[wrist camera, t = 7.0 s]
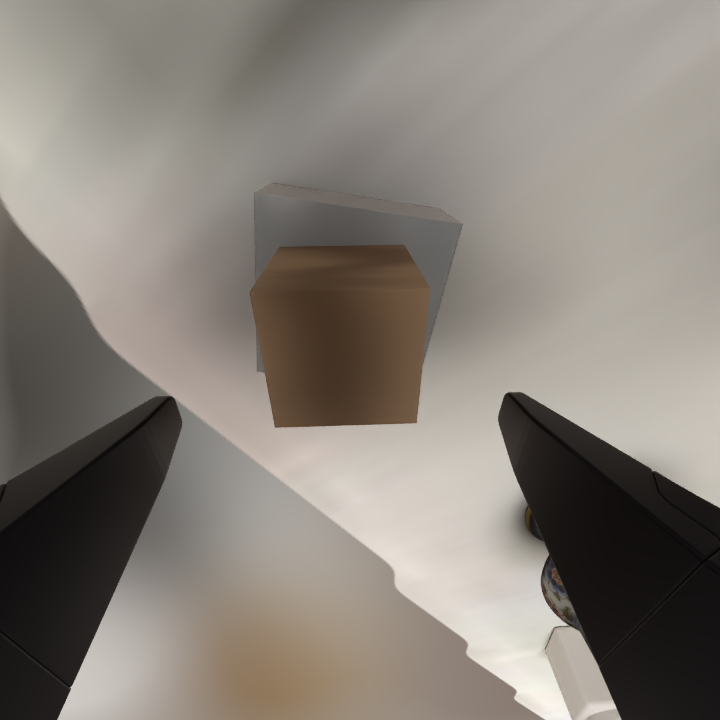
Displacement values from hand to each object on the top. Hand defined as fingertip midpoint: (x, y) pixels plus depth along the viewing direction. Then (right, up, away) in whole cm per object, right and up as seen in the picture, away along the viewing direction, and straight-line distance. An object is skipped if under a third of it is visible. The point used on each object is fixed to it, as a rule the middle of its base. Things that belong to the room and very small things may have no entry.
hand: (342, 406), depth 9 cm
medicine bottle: (+28, -34, +35) cm, 56 cm away
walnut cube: (0, +4, +6) cm, 7 cm away
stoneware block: (0, +6, +9) cm, 11 cm away
